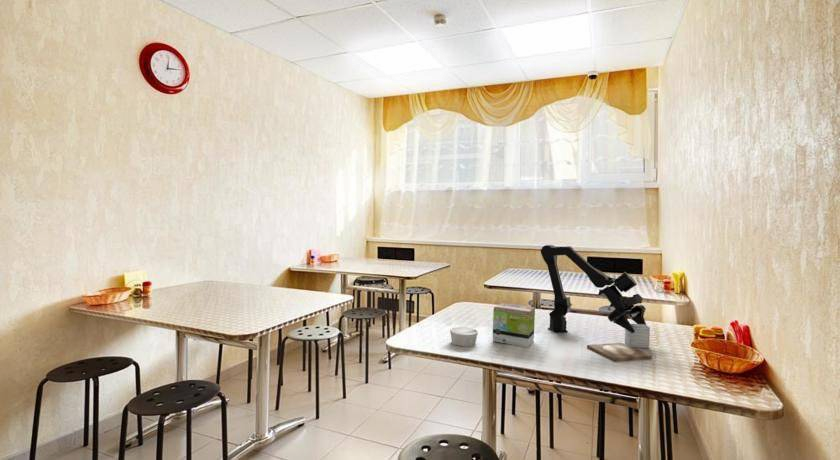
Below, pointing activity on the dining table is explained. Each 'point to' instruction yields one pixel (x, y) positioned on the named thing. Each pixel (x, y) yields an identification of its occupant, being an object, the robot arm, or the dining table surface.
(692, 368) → the dining table surface
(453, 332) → the ramekin
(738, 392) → the dining table surface
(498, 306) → the tea box
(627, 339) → the medicine box
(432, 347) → the dining table surface
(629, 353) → the walnut board
